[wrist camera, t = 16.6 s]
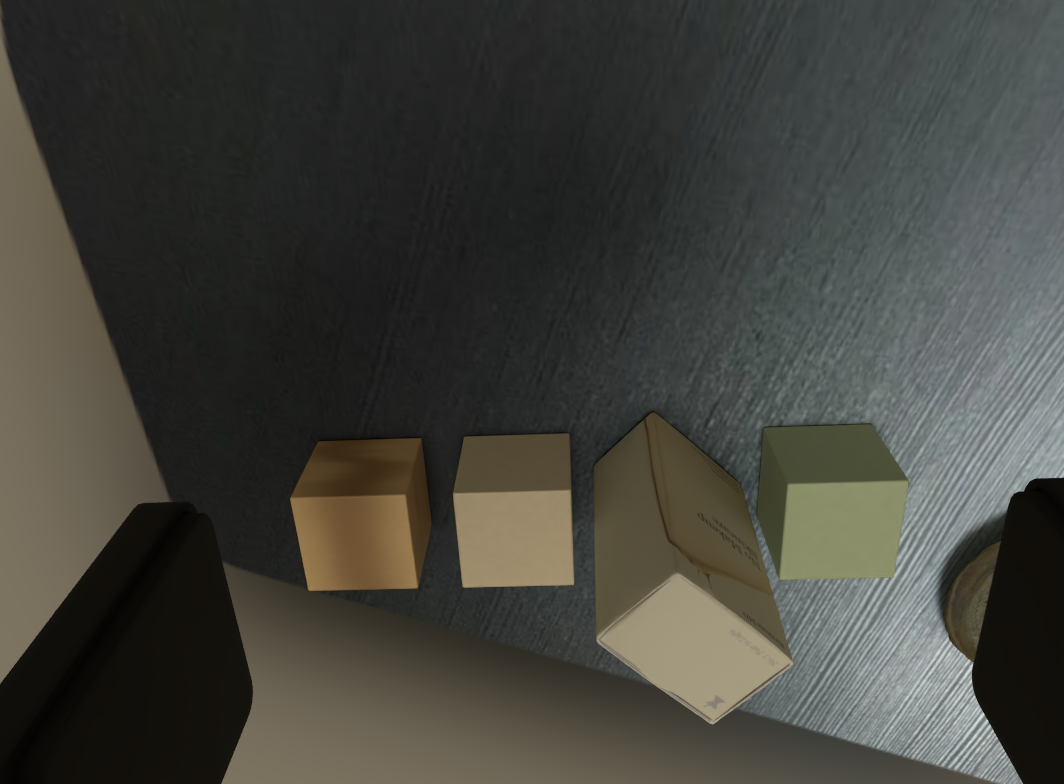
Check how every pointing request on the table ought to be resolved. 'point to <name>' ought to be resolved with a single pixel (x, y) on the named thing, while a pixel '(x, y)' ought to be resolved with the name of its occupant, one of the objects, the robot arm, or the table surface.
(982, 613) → the lid
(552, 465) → the block
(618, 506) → the cosmetic box
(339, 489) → the block
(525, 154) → the table surface
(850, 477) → the block
